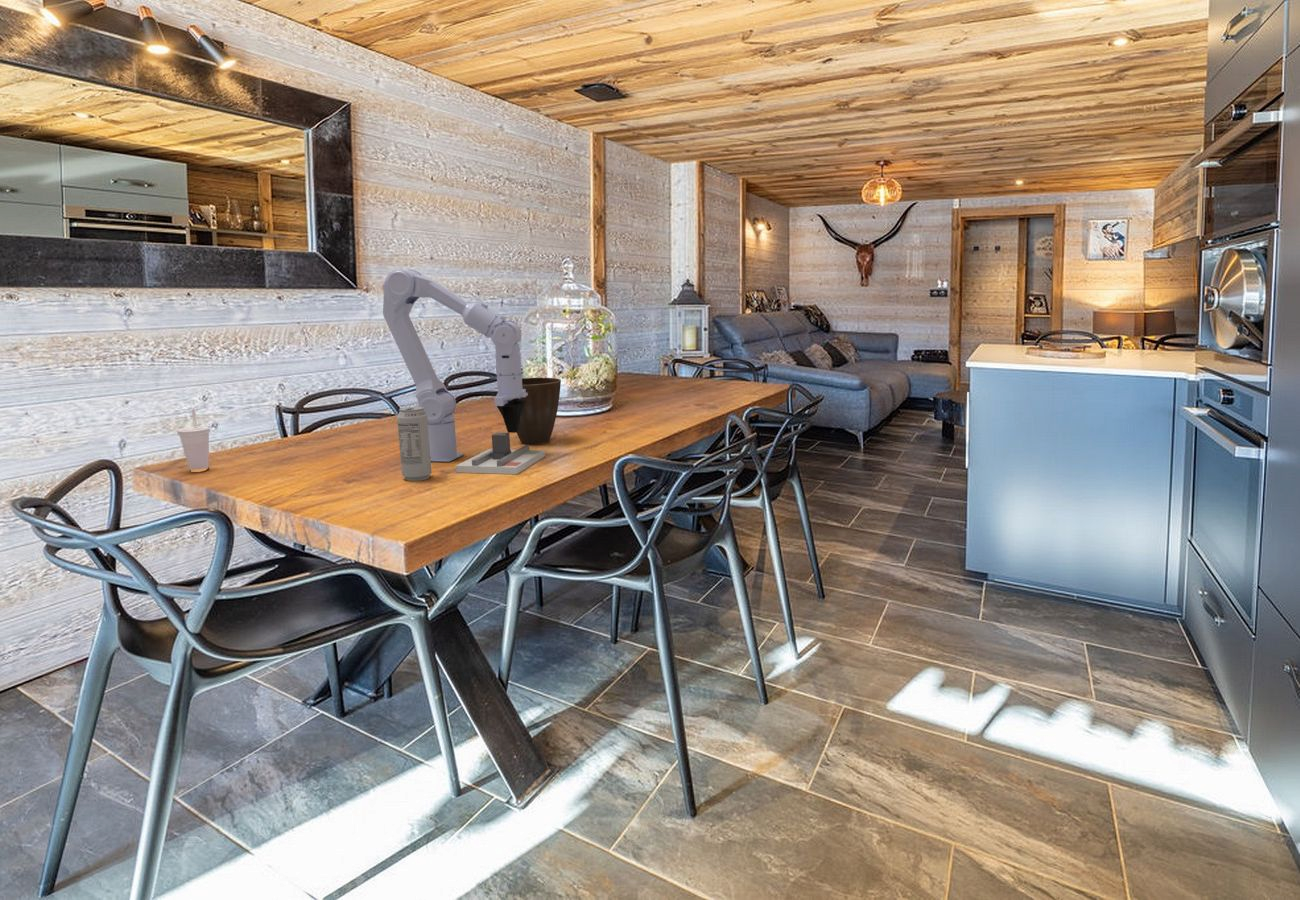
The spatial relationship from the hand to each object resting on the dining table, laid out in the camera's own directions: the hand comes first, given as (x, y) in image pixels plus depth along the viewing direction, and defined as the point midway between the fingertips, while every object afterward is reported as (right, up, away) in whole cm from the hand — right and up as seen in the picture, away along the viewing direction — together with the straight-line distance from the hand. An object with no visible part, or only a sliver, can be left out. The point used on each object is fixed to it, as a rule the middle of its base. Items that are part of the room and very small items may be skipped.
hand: (512, 432), depth 179 cm
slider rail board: (-1, -7, -5) cm, 9 cm away
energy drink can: (-17, -10, -17) cm, 26 cm away
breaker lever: (-1, -6, -6) cm, 8 cm away
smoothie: (-70, -9, -6) cm, 71 cm away
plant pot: (+2, -2, +20) cm, 20 cm away
